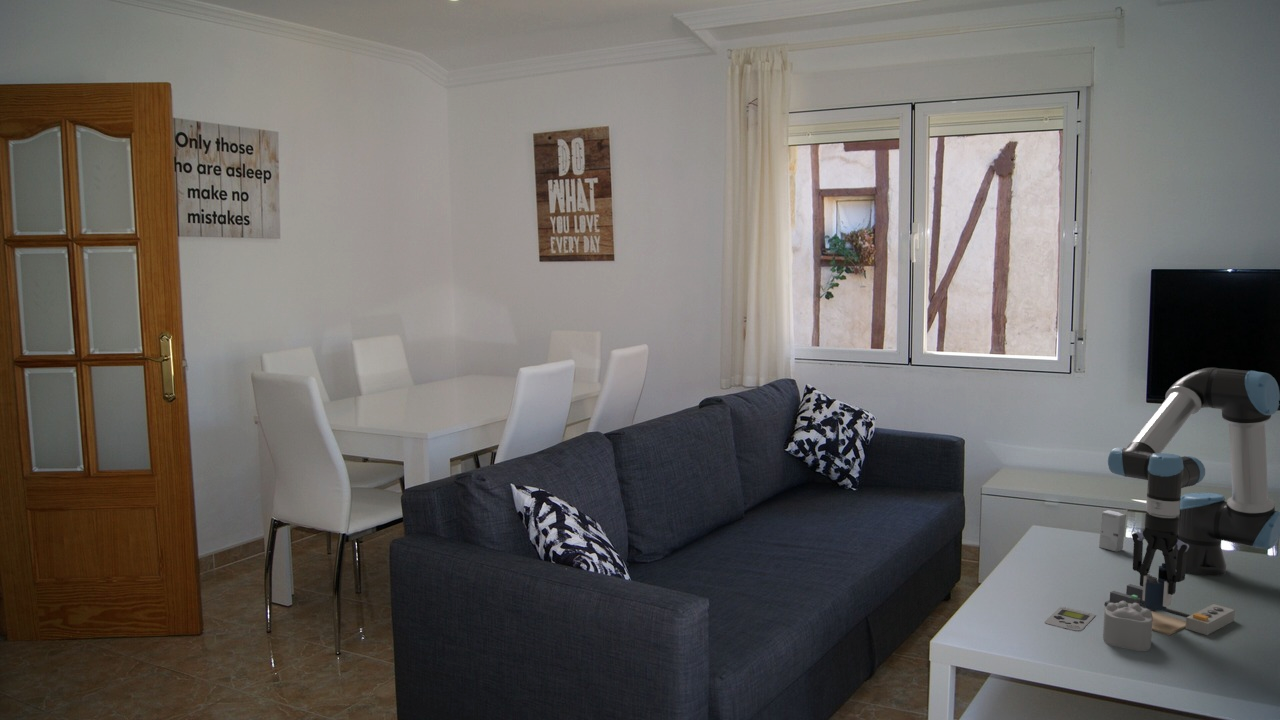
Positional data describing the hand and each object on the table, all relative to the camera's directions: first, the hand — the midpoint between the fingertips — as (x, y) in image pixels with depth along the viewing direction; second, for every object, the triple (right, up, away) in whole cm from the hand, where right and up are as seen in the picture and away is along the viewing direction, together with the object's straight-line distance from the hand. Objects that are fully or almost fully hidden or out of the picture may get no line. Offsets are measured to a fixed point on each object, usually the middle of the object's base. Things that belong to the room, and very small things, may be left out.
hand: (1156, 602), depth 233 cm
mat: (0, -5, +1) cm, 5 cm away
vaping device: (0, -2, 0) cm, 2 cm away
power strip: (+13, -6, -1) cm, 15 cm away
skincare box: (+21, 0, +63) cm, 66 cm away
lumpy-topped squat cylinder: (-13, -7, -10) cm, 18 cm away
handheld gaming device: (-21, -6, +2) cm, 22 cm away
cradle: (+4, -5, +7) cm, 10 cm away
